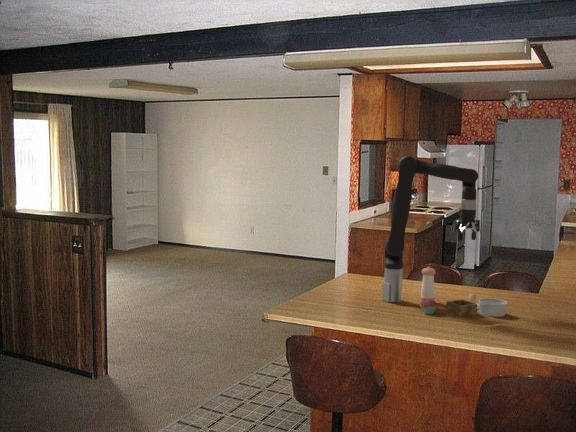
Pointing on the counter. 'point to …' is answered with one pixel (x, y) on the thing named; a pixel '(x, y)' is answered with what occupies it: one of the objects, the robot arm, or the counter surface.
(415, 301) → the counter surface
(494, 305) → the ramekin
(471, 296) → the lid
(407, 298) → the counter surface
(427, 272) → the pepper shaker
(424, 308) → the cupcake
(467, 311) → the walnut box
